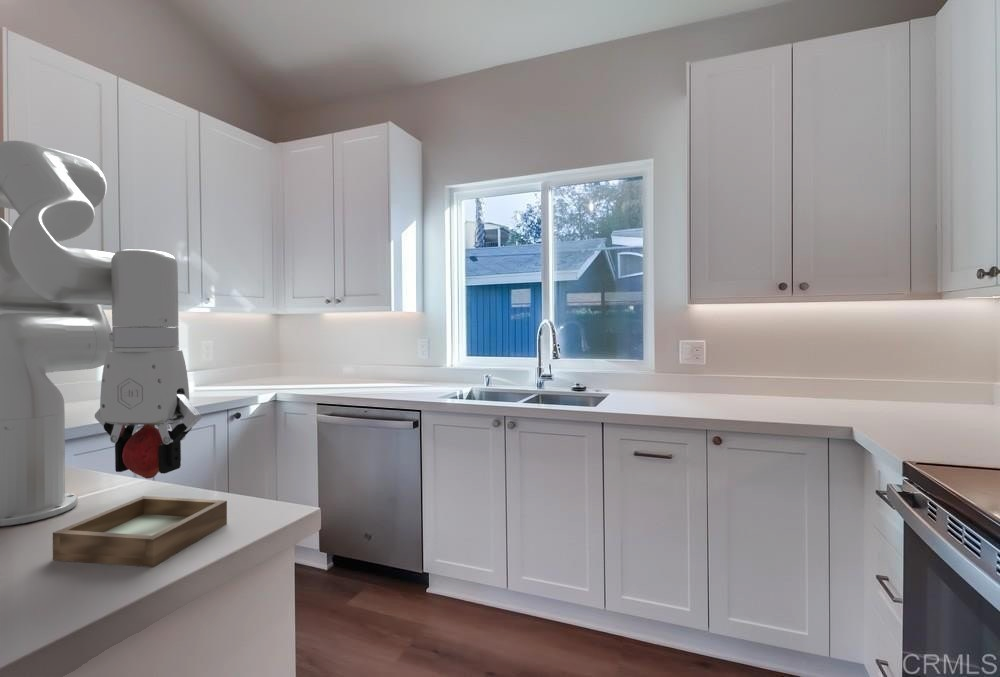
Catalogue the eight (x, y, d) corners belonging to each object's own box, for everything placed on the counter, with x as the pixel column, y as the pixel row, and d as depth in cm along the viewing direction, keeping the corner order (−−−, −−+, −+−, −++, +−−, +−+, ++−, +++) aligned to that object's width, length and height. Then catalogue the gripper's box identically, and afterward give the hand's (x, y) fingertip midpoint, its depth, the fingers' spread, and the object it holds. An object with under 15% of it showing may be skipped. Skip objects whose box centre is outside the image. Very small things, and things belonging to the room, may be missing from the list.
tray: (52, 559, 64) (52, 532, 64) (143, 518, 78) (142, 496, 78) (152, 567, 62) (152, 539, 62) (226, 523, 76) (226, 500, 76)
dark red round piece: (147, 486, 66) (146, 426, 66) (111, 483, 68) (110, 424, 67) (183, 473, 72) (182, 418, 72) (150, 471, 73) (149, 417, 73)
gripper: (64, 341, 67) (67, 476, 67) (183, 341, 65) (185, 480, 65) (114, 340, 74) (116, 461, 74) (222, 340, 72) (223, 464, 72)
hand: (148, 468), depth 70 cm, fingers closed on dark red round piece, 5 cm apart
